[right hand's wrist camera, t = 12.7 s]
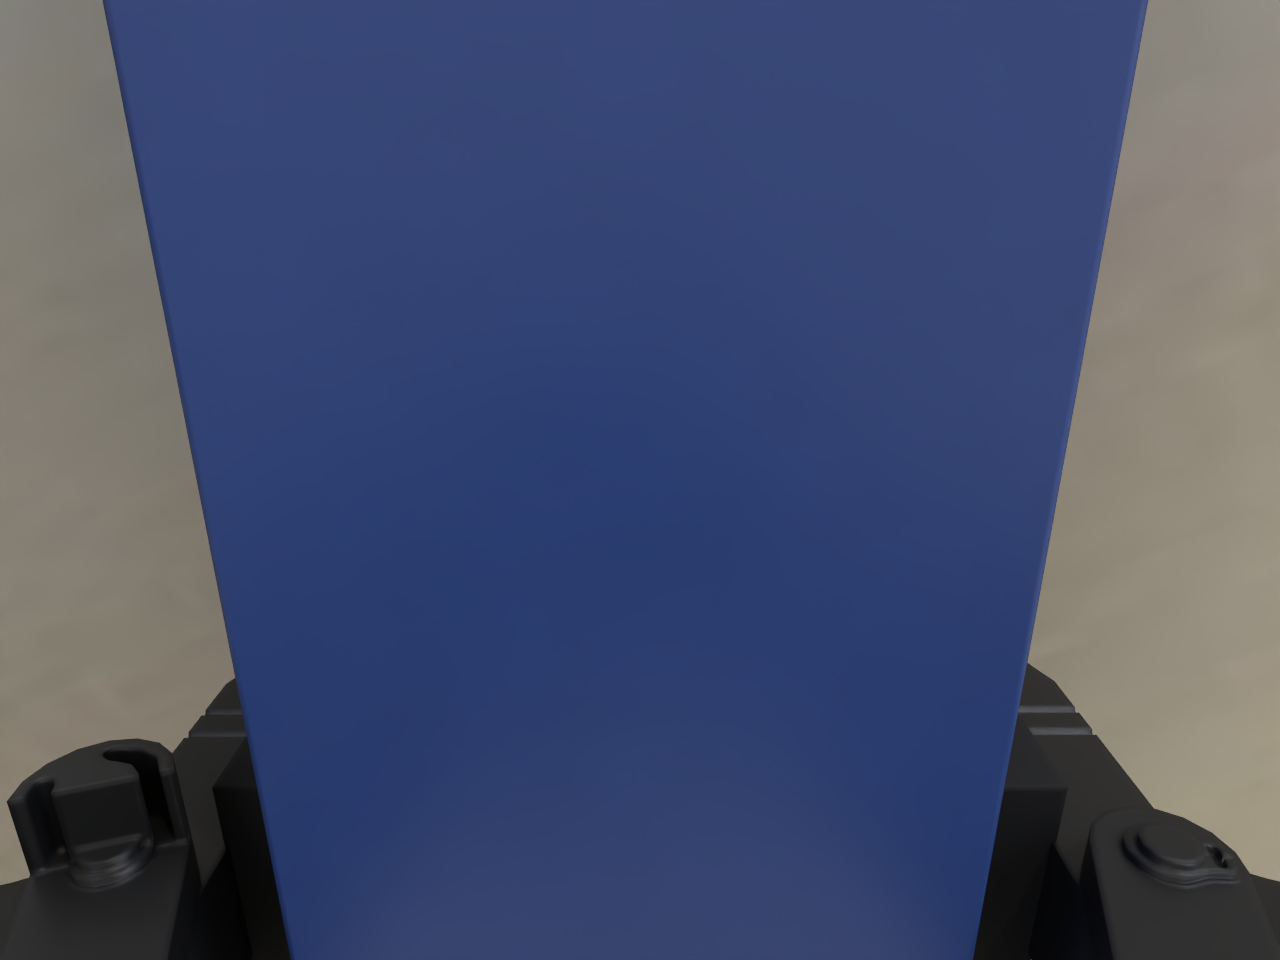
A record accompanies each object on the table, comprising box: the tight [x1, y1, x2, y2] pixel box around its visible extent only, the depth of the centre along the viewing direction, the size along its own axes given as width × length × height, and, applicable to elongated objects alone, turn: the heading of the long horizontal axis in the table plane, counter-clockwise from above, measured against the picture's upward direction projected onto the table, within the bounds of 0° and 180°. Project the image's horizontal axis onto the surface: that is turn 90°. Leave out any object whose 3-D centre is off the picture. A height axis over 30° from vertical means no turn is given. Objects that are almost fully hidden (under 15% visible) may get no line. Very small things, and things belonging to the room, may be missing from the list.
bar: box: [103, 0, 1148, 960], centre depth 9 cm, size 23×6×10 cm, turn 0°
